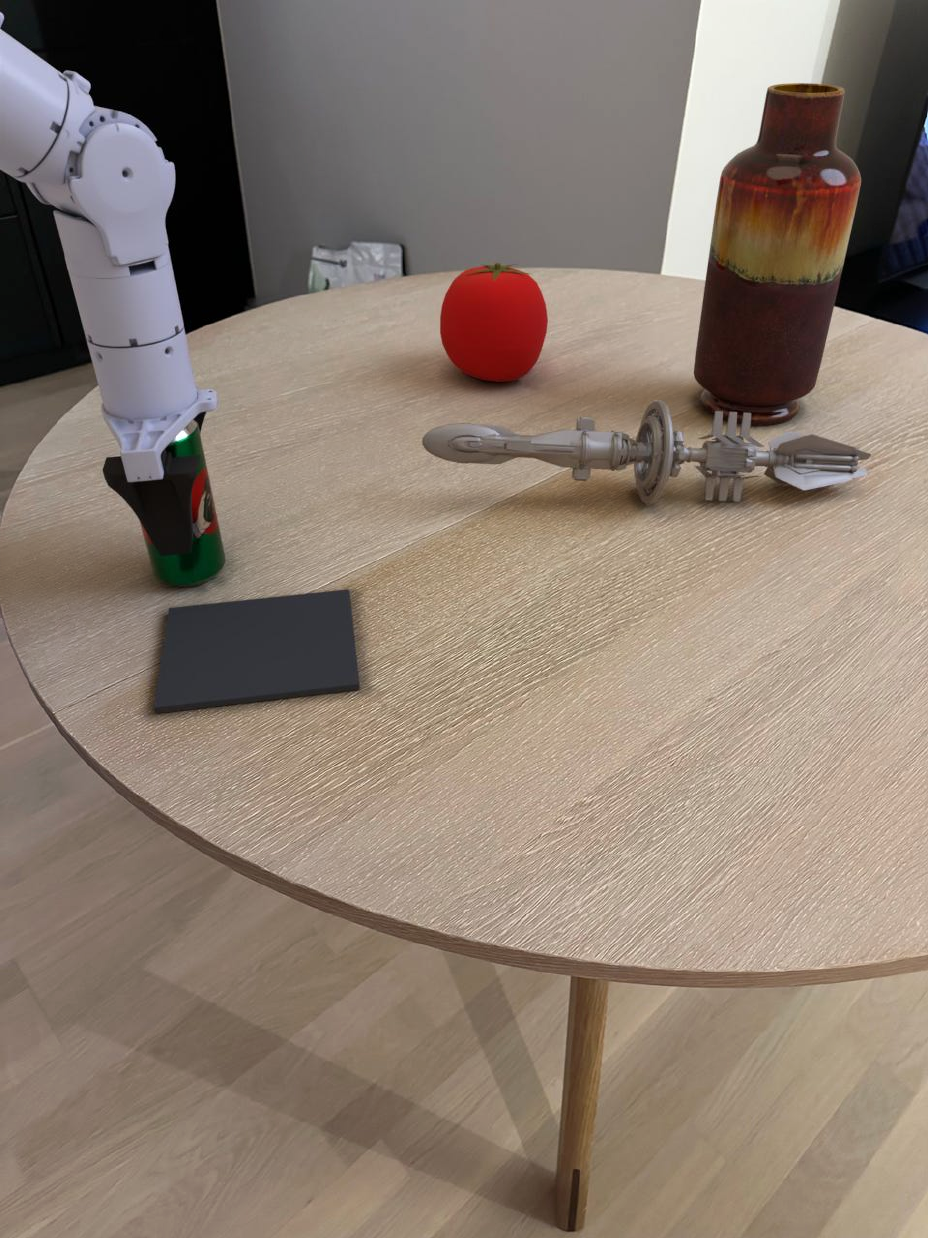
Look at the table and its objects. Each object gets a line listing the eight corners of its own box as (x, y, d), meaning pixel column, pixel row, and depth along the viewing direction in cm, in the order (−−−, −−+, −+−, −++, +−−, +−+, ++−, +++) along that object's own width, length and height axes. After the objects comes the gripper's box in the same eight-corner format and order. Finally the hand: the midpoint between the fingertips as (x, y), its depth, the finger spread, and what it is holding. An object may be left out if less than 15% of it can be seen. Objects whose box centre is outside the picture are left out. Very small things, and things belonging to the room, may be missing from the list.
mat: (155, 714, 54) (153, 707, 54) (170, 613, 62) (168, 607, 62) (359, 689, 56) (359, 683, 55) (349, 594, 64) (348, 588, 63)
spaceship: (421, 385, 72) (427, 387, 64) (848, 410, 76) (902, 414, 68) (417, 488, 74) (422, 501, 66) (833, 507, 78) (883, 521, 70)
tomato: (488, 404, 88) (488, 289, 82) (422, 372, 95) (417, 263, 88) (568, 376, 93) (574, 266, 87) (500, 347, 100) (501, 242, 94)
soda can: (217, 545, 69) (185, 392, 62) (234, 579, 65) (203, 421, 58) (148, 562, 67) (107, 407, 60) (162, 598, 64) (120, 438, 56)
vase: (756, 374, 93) (811, 74, 77) (836, 415, 85) (915, 91, 69) (665, 395, 89) (703, 84, 74) (739, 440, 81) (799, 103, 66)
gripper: (195, 371, 51) (235, 577, 59) (209, 288, 62) (242, 470, 70) (60, 381, 50) (120, 589, 58) (100, 295, 61) (146, 479, 69)
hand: (180, 525), depth 64 cm, fingers open, 6 cm apart
